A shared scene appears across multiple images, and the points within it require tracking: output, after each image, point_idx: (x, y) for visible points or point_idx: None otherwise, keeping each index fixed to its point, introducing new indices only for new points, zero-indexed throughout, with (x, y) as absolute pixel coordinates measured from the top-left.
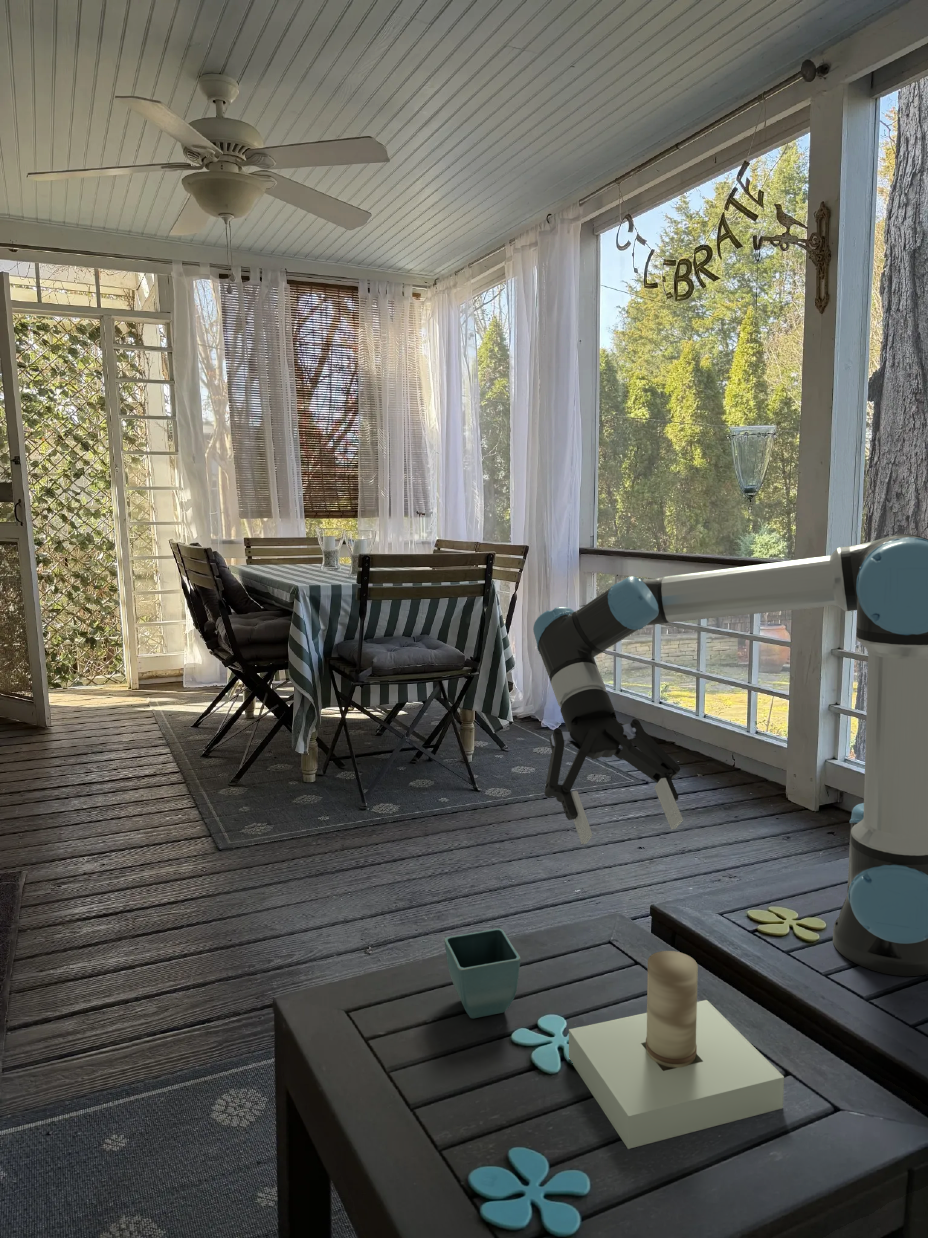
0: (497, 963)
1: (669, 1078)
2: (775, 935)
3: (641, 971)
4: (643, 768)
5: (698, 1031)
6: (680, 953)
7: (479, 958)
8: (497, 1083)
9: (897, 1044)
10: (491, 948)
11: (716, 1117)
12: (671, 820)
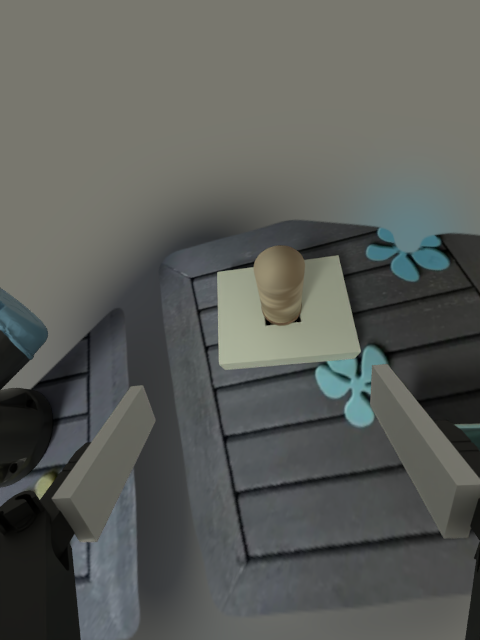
0: (456, 424)
1: None
2: None
3: (239, 475)
4: (67, 623)
5: (248, 326)
6: (261, 282)
7: None
8: (423, 342)
9: (112, 322)
10: None
11: None
12: (145, 417)
